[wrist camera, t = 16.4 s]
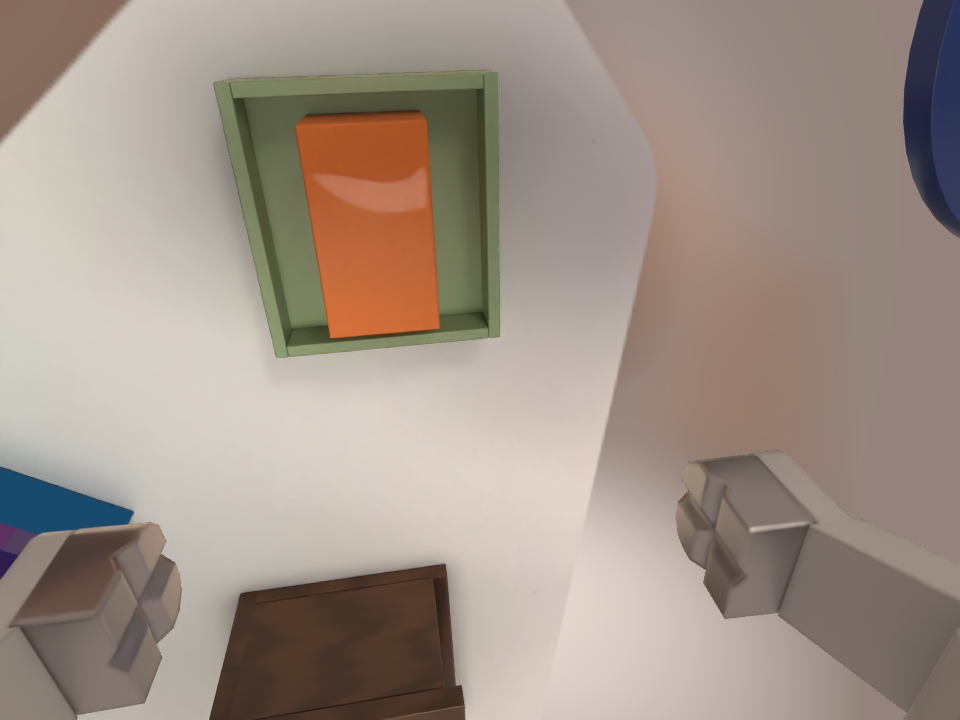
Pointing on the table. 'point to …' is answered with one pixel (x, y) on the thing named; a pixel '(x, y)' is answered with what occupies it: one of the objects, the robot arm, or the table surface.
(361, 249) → the block
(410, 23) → the table surface
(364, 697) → the shelf
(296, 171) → the tray
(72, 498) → the box
